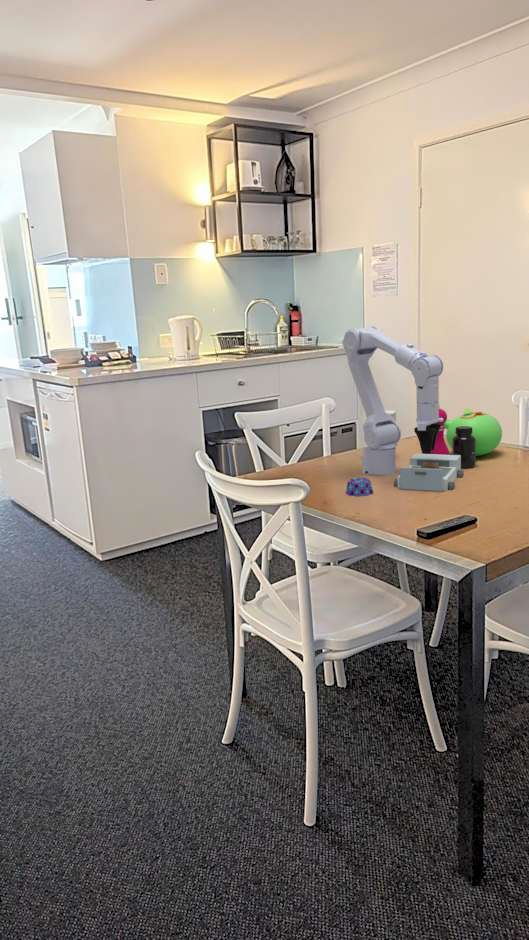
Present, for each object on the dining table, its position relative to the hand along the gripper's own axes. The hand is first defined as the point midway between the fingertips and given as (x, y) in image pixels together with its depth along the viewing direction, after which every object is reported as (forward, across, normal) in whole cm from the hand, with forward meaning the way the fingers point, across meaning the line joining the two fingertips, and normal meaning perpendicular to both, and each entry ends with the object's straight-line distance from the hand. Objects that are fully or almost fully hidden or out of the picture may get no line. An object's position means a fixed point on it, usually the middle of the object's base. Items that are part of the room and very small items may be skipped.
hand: (428, 451), depth 181 cm
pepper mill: (+10, +20, +2) cm, 22 cm away
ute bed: (+10, +2, 0) cm, 10 cm away
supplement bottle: (+10, +25, -5) cm, 27 cm away
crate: (+8, +2, 0) cm, 8 cm away
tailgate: (+6, -9, 0) cm, 11 cm away
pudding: (+10, -14, +15) cm, 23 cm away
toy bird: (+10, +40, -5) cm, 42 cm away
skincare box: (+10, +31, +22) cm, 39 cm away
